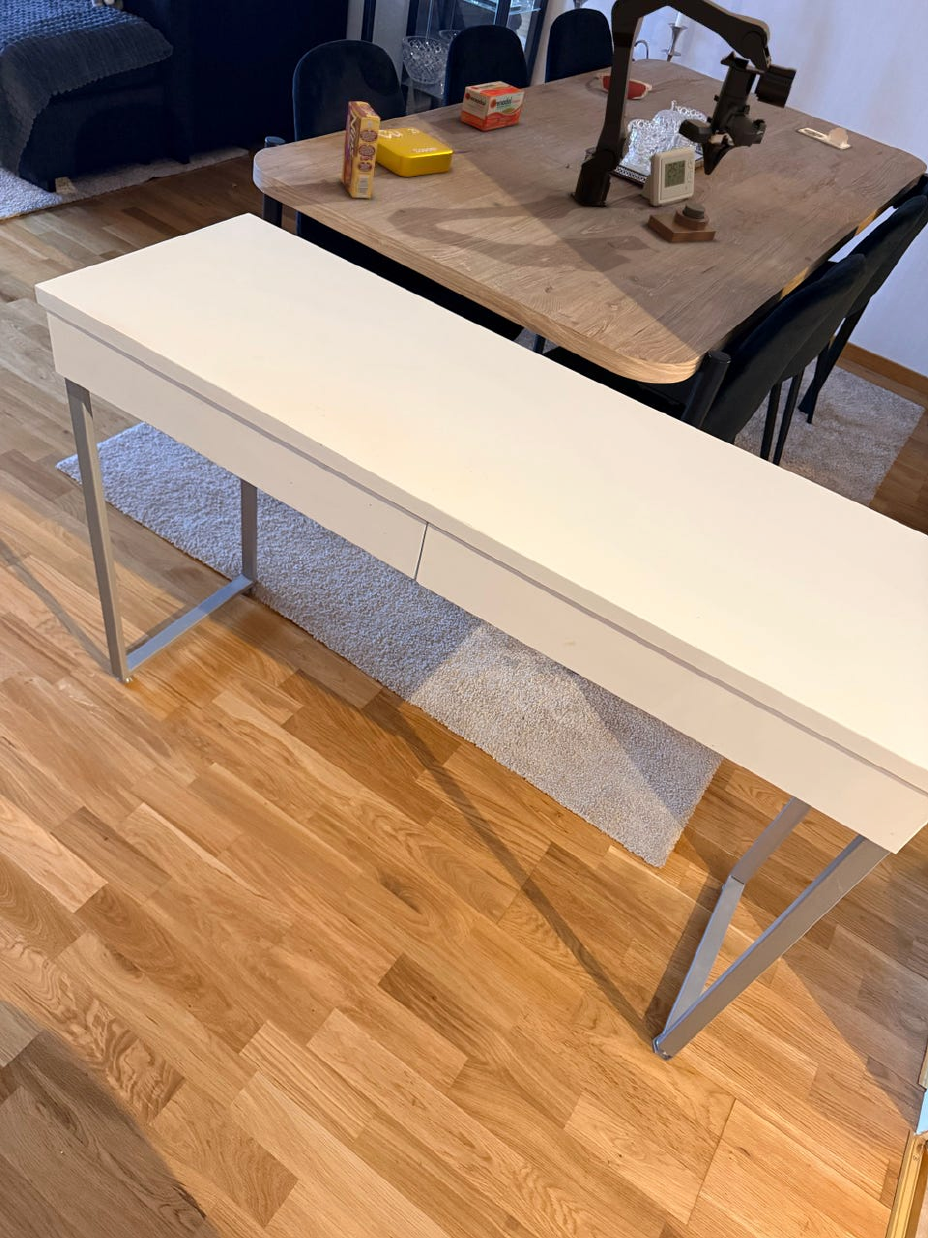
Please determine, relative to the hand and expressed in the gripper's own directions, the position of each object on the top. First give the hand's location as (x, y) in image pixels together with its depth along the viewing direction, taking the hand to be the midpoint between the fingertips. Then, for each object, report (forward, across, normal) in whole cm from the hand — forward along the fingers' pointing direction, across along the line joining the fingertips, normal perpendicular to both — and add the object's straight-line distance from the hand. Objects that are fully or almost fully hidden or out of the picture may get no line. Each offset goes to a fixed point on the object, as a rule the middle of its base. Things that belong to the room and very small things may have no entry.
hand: (707, 174), depth 195 cm
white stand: (+13, +99, +57) cm, 115 cm away
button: (+9, 0, 0) cm, 9 cm away
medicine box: (+12, -16, +64) cm, 68 cm away
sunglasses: (+13, +48, +95) cm, 107 cm away
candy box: (+12, -69, +25) cm, 75 cm away
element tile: (+12, -51, +39) cm, 66 cm away
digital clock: (+13, +6, +17) cm, 22 cm away
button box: (+12, -2, 0) cm, 13 cm away
